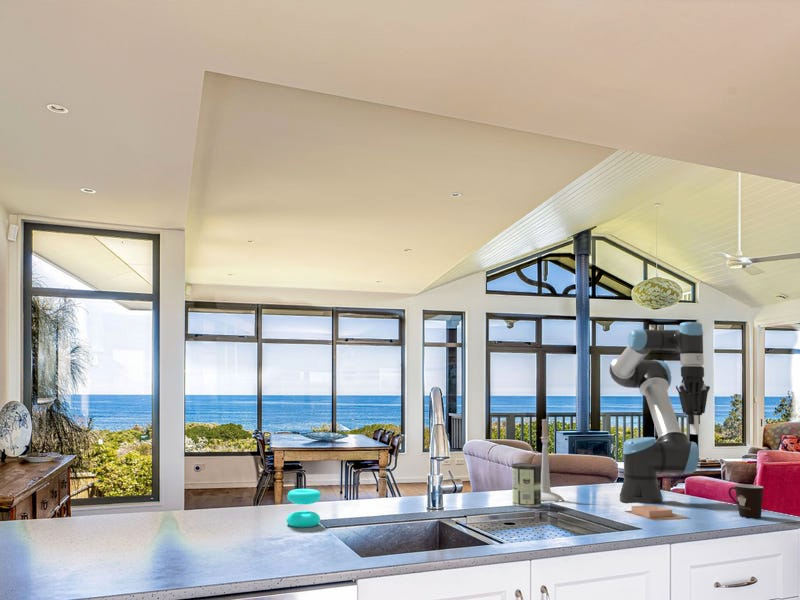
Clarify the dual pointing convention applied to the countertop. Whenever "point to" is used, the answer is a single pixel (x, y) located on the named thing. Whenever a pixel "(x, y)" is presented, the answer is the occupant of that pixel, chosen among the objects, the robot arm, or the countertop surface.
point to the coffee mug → (748, 500)
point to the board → (674, 516)
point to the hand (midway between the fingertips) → (694, 434)
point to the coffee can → (526, 484)
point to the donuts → (303, 516)
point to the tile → (651, 511)
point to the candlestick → (546, 468)
